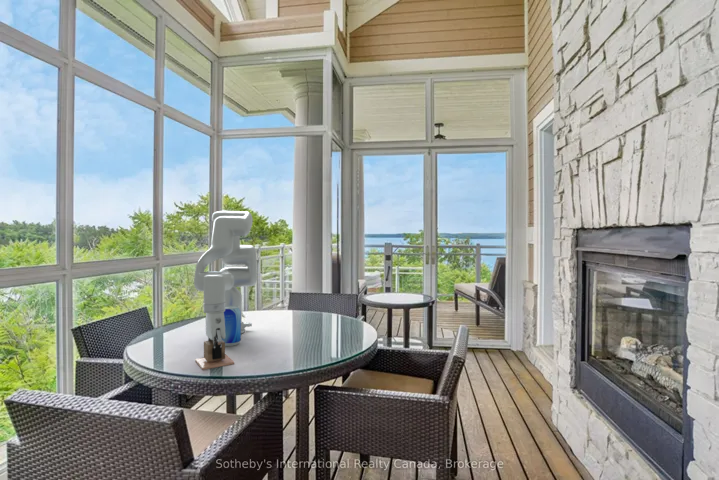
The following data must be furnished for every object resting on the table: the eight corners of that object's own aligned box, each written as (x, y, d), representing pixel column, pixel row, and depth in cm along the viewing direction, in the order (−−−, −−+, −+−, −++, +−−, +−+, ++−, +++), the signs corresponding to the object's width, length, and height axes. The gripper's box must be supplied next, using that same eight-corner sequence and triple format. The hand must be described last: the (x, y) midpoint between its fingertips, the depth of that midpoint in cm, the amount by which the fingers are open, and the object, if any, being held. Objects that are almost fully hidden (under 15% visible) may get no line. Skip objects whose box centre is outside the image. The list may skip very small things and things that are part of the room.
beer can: (244, 342, 167) (244, 305, 167) (232, 347, 159) (232, 309, 159) (228, 340, 170) (228, 304, 170) (215, 345, 162) (215, 308, 162)
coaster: (225, 355, 148) (225, 353, 148) (234, 363, 139) (234, 361, 139) (195, 361, 142) (195, 359, 142) (202, 369, 133) (202, 367, 133)
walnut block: (220, 354, 145) (220, 338, 145) (225, 358, 140) (224, 342, 140) (203, 357, 141) (203, 341, 141) (207, 361, 136) (207, 345, 136)
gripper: (231, 310, 135) (231, 360, 136) (218, 303, 150) (218, 348, 150) (209, 312, 131) (209, 364, 131) (198, 304, 145) (198, 352, 146)
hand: (214, 355), depth 141 cm, fingers closed on walnut block, 5 cm apart
